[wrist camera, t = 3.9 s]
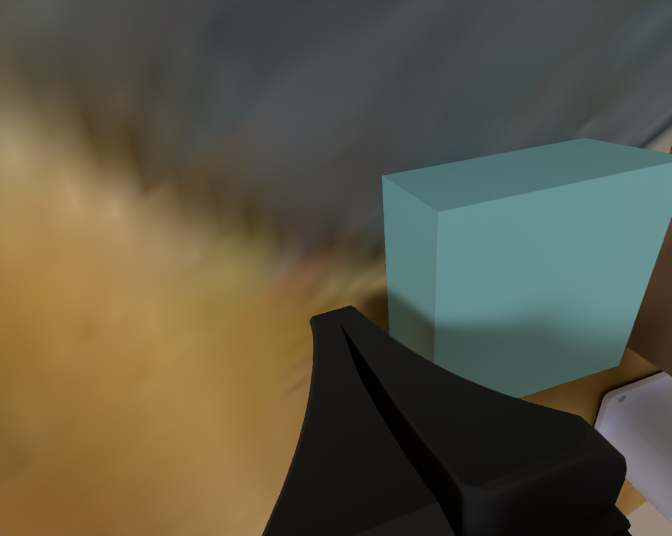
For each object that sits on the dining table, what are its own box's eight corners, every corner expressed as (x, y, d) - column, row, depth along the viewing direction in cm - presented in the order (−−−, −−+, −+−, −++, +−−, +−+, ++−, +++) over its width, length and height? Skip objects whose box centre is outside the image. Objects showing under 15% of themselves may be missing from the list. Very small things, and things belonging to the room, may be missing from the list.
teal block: (578, 136, 14) (692, 158, 11) (543, 309, 18) (619, 365, 15) (378, 173, 13) (438, 212, 9) (387, 353, 17) (432, 426, 13)
